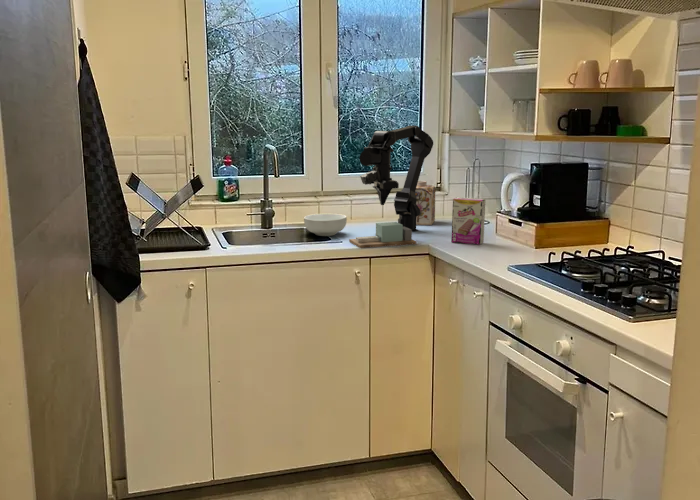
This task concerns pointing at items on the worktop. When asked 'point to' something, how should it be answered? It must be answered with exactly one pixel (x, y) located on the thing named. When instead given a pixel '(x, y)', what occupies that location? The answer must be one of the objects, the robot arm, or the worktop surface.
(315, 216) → the cereal bowl
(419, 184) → the decorative jar
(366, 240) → the metal rail
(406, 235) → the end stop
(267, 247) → the worktop surface
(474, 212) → the candy bar box
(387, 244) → the mounting board
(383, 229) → the block
